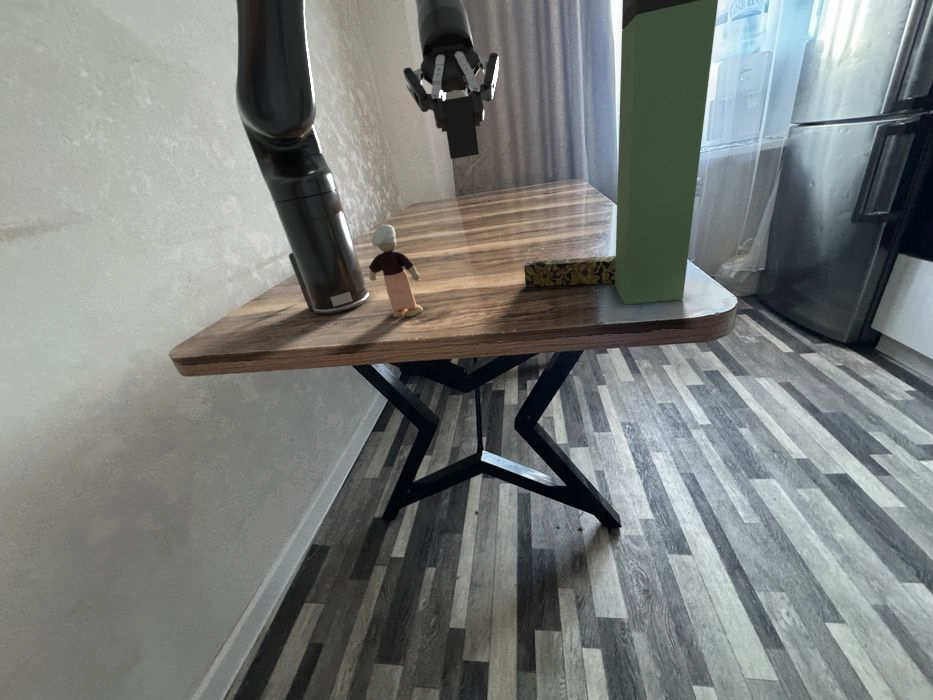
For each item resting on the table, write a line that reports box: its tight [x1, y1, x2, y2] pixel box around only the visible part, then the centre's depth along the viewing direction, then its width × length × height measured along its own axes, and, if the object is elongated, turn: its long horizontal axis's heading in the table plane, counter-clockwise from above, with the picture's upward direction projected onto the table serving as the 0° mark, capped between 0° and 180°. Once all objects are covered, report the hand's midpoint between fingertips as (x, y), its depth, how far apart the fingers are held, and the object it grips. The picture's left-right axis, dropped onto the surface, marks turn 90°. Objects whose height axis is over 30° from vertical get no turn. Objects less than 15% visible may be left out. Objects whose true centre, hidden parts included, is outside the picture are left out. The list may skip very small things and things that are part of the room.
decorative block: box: [523, 255, 616, 288], centre depth 55 cm, size 15×2×4 cm, turn 72°
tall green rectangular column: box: [614, 0, 719, 305], centre depth 42 cm, size 7×7×32 cm
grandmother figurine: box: [368, 224, 424, 318], centre depth 54 cm, size 8×4×13 cm, turn 84°
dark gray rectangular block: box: [442, 95, 480, 160], centre depth 54 cm, size 4×4×7 cm
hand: (460, 123), depth 52 cm, fingers closed on dark gray rectangular block, 4 cm apart
